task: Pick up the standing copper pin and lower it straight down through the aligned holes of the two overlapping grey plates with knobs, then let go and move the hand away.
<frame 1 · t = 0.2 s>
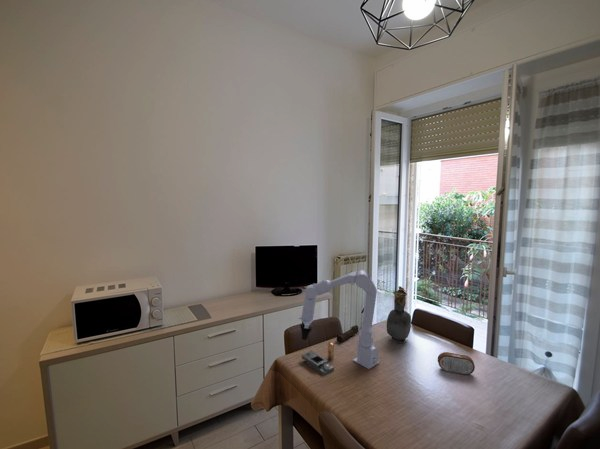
hand: (304, 335, 148), 10 cm above the table, tool pointing down, fingers open, 7 cm apart
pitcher: (399, 339, 168), on the table
hand tool: (348, 337, 170), on the table
copper pin: (330, 358, 146), on the table
tin: (455, 372, 136), on the table
grey plate with knobs: (317, 365, 141), on the table
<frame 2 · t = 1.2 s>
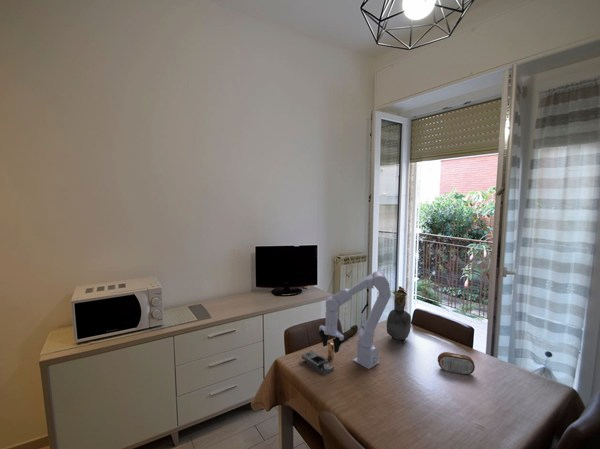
hand: (330, 348, 146), 5 cm above the table, tool pointing down, fingers open, 7 cm apart
nothing on the table moved.
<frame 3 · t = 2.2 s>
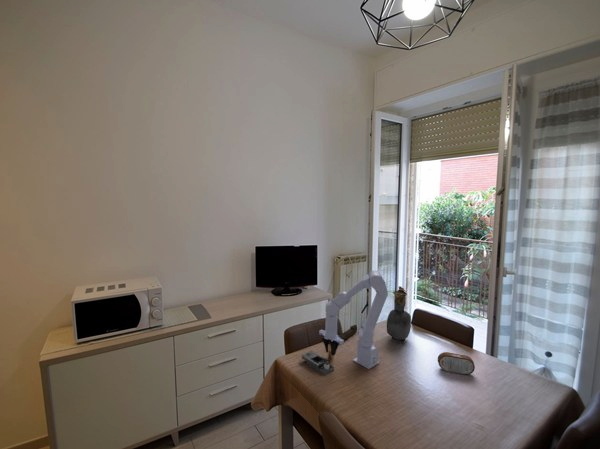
hand: (330, 353, 146), 3 cm above the table, tool pointing down, fingers closed on copper pin, 3 cm apart
copper pin: (330, 358, 146), on the table, touching gripper
everything else where it was.
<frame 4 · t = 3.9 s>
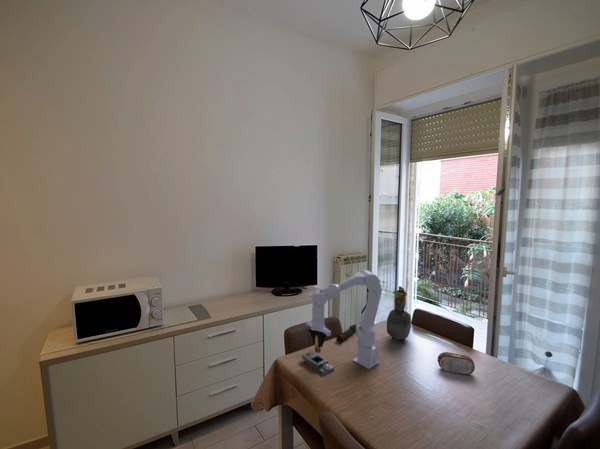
hand: (317, 345, 140), 10 cm above the table, tool pointing down, fingers closed on copper pin, 3 cm apart
copper pin: (317, 351, 140), point 7 cm above the table, touching gripper
everything else where it was.
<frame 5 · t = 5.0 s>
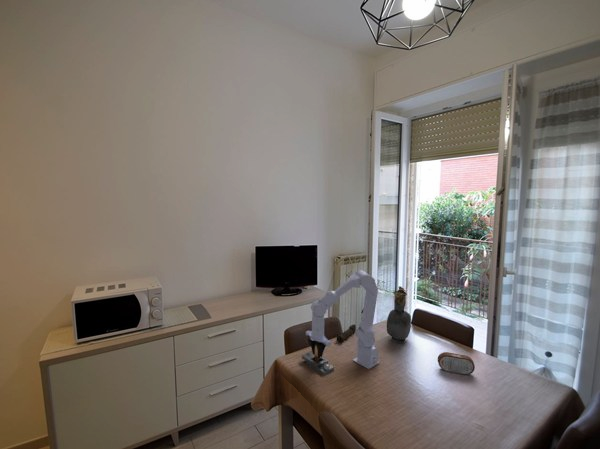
hand: (317, 355, 140), 5 cm above the table, tool pointing down, fingers closed on copper pin, 3 cm apart
copper pin: (317, 361, 140), point 2 cm above the table, touching gripper
everything else where it was.
when the fingers open (4 cm above the table, at t = 5.7 s): copper pin stays where it is, resting in grey plate with knobs.
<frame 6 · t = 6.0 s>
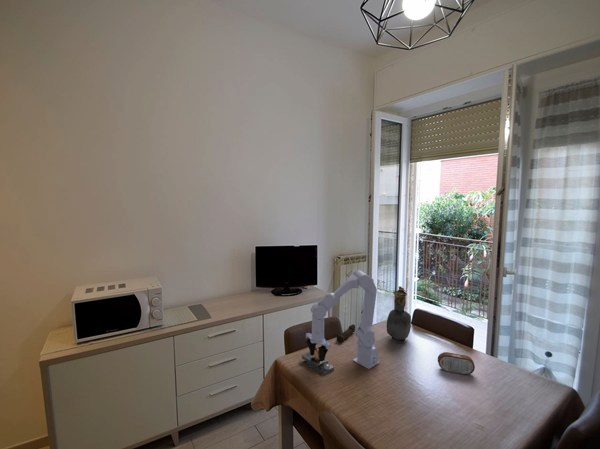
hand: (317, 357, 140), 4 cm above the table, tool pointing down, fingers open, 6 cm apart
copper pin: (317, 365, 141), resting in grey plate with knobs
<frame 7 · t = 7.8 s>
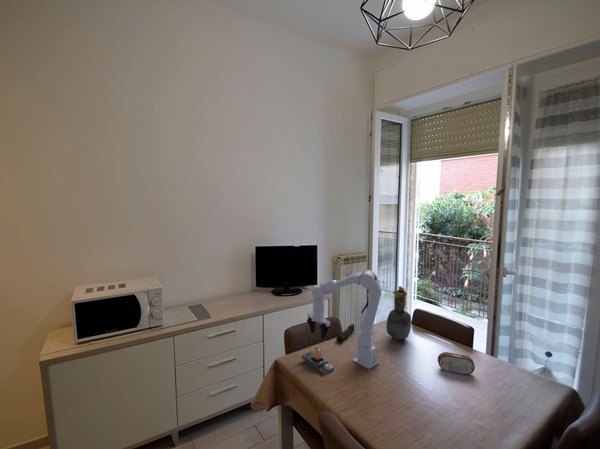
hand: (318, 335, 151), 9 cm above the table, tool pointing down, fingers open, 7 cm apart
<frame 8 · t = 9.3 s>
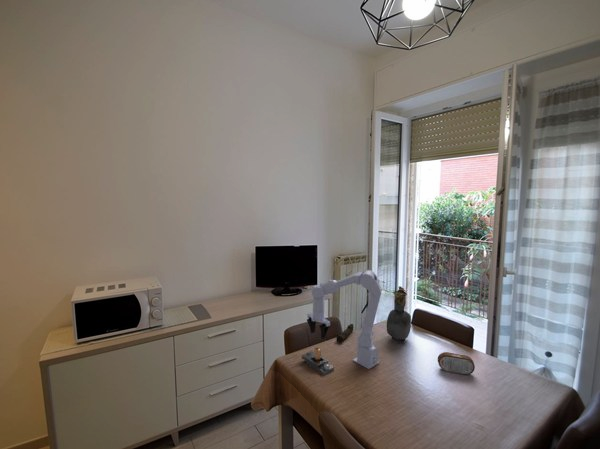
hand: (318, 335, 151), 9 cm above the table, tool pointing down, fingers open, 7 cm apart
at the end: copper pin 0.1 cm from the grey plate with knobs (horizontally); copper pin resting in grey plate with knobs; copper pin tilted 0° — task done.
